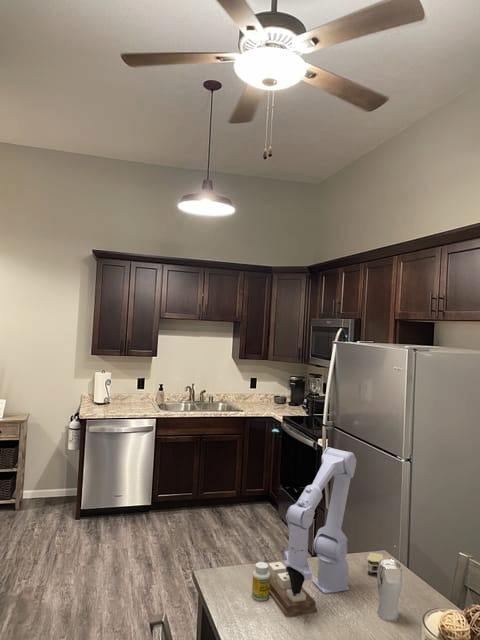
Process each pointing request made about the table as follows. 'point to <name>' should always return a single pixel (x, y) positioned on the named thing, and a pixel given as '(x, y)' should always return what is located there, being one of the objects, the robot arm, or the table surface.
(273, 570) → the key one
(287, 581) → the key two
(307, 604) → the brown wooden tray
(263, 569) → the supplement bottle
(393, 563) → the beer glass
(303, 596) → the key three
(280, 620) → the table surface
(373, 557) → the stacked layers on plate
